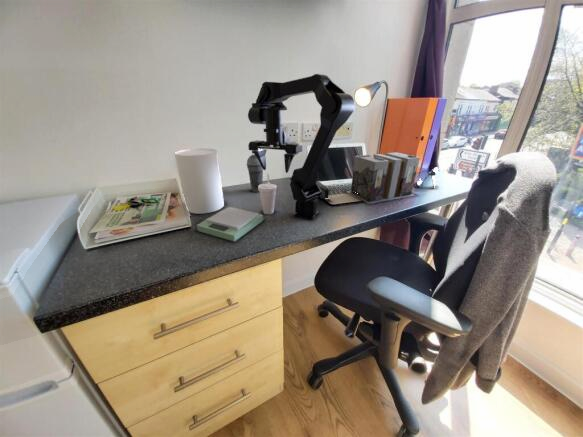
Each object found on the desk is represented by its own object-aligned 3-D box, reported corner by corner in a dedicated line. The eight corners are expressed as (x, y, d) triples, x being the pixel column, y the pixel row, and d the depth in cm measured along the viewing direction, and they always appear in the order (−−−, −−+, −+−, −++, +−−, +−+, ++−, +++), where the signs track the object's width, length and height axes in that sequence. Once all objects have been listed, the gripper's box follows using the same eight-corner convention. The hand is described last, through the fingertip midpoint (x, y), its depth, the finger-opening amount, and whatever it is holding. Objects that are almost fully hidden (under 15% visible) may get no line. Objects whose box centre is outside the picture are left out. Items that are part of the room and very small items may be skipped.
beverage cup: (262, 193, 101) (259, 145, 92) (246, 192, 103) (242, 144, 94) (267, 188, 108) (265, 142, 99) (252, 187, 109) (248, 142, 100)
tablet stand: (418, 182, 116) (422, 165, 113) (436, 185, 112) (441, 167, 109) (415, 186, 110) (419, 169, 106) (434, 190, 106) (439, 171, 102)
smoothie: (270, 217, 80) (268, 177, 74) (255, 213, 83) (253, 174, 77) (281, 210, 85) (280, 172, 79) (266, 207, 88) (265, 170, 82)
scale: (263, 220, 78) (263, 212, 77) (234, 241, 66) (233, 233, 64) (229, 212, 83) (229, 205, 82) (197, 230, 71) (195, 222, 70)
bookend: (416, 195, 100) (425, 156, 93) (368, 203, 91) (375, 161, 84) (389, 184, 113) (395, 150, 106) (345, 191, 104) (349, 154, 97)
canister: (188, 201, 93) (178, 149, 84) (224, 198, 96) (217, 147, 87) (183, 215, 81) (170, 156, 72) (224, 211, 84) (216, 154, 75)
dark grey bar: (311, 180, 103) (326, 190, 90) (317, 179, 104) (333, 189, 91) (310, 191, 105) (325, 202, 92) (316, 190, 106) (332, 201, 93)
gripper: (308, 124, 82) (307, 168, 89) (262, 123, 89) (265, 164, 96) (295, 126, 73) (295, 176, 80) (245, 125, 80) (249, 170, 87)
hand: (275, 171), depth 86 cm, fingers open, 9 cm apart
